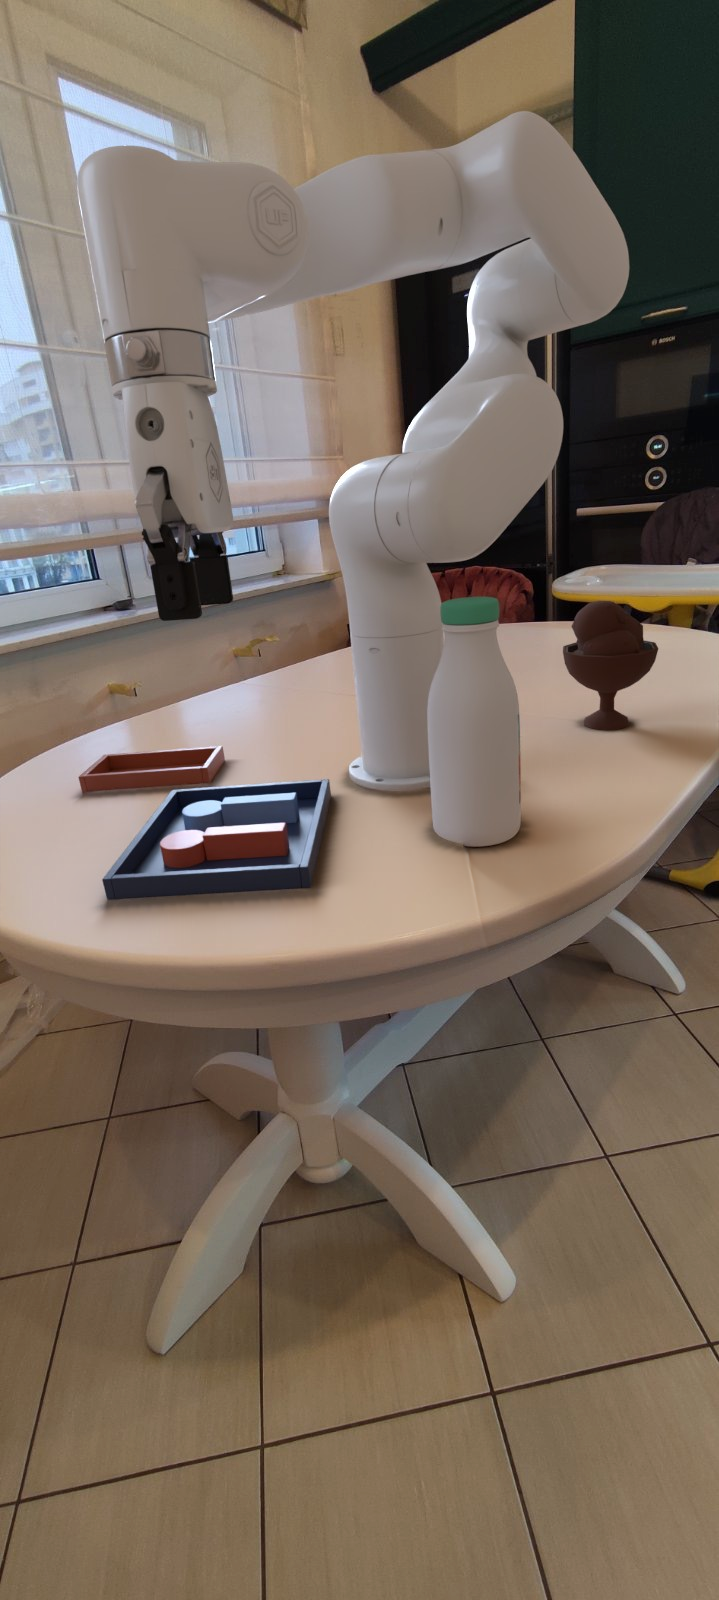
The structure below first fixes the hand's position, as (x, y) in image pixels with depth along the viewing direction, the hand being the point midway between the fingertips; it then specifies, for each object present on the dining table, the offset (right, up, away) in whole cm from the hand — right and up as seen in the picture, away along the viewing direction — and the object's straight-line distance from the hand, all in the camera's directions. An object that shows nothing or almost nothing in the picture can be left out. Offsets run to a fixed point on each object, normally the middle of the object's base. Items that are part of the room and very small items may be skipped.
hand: (199, 611), depth 59 cm
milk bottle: (+23, -18, +5) cm, 30 cm away
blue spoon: (+2, -18, +10) cm, 21 cm away
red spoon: (+1, -20, +4) cm, 21 cm away
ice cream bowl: (+44, -6, +31) cm, 54 cm away
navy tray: (+2, -20, +7) cm, 21 cm away
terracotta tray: (-11, -13, +26) cm, 31 cm away
